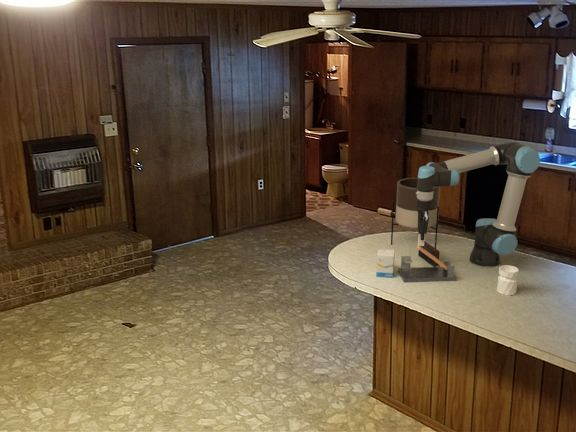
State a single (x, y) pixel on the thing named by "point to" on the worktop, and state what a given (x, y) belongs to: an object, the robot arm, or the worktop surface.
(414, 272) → the base
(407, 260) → the keeper
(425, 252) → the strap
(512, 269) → the vase
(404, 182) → the planter
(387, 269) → the ink box
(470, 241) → the worktop surface
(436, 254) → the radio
